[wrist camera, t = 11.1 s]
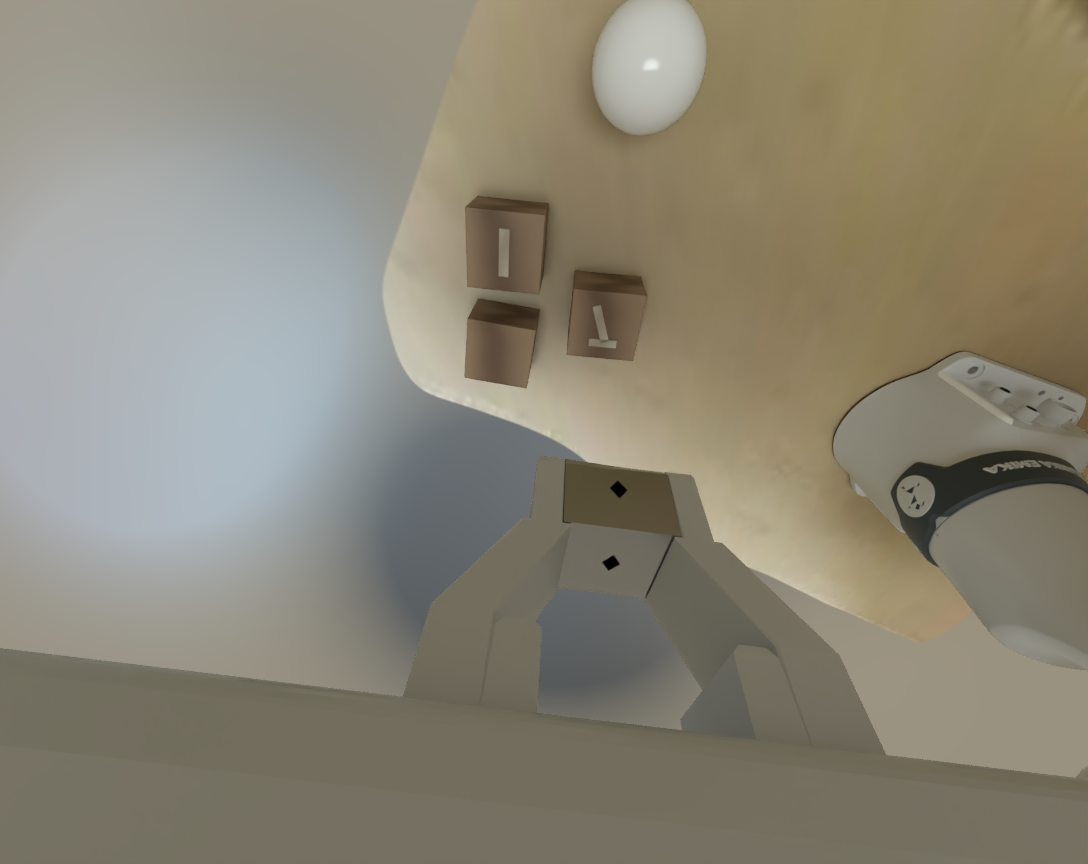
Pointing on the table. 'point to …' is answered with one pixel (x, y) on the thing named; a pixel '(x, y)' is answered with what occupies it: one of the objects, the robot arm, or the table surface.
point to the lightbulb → (649, 64)
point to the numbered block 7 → (605, 315)
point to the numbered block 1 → (506, 244)
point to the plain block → (500, 342)
